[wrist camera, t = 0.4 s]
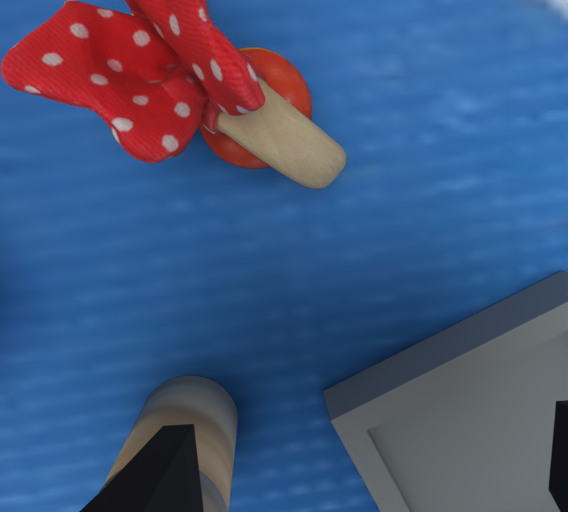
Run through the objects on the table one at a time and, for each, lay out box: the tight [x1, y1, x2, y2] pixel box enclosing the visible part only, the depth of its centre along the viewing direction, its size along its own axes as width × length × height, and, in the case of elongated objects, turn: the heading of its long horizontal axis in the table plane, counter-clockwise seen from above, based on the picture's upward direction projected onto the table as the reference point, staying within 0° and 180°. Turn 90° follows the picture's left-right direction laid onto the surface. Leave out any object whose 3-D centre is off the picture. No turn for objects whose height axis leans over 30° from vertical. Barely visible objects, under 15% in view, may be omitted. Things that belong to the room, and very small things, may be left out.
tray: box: [323, 271, 568, 512], centre depth 20 cm, size 11×11×2 cm
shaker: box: [99, 375, 238, 512], centre depth 17 cm, size 4×4×7 cm
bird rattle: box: [1, 0, 346, 189], centre depth 14 cm, size 6×11×9 cm
